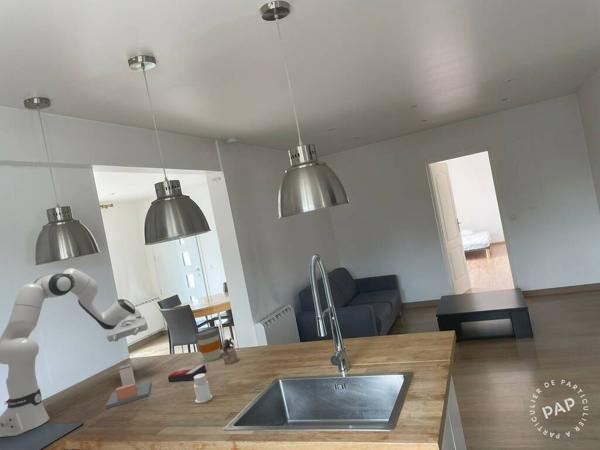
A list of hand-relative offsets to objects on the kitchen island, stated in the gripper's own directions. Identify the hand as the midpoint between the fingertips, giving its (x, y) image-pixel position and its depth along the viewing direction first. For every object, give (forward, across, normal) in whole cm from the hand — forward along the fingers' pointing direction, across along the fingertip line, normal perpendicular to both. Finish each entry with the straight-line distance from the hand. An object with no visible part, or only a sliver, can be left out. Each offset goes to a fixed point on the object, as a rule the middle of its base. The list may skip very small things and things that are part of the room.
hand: (125, 337), depth 223 cm
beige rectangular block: (+19, -1, +19) cm, 27 cm away
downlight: (+53, +36, +17) cm, 66 cm away
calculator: (+17, +25, +24) cm, 39 cm away
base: (+22, -1, +20) cm, 30 cm away
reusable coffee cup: (-5, +36, +29) cm, 47 cm away
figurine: (+11, +47, +27) cm, 55 cm away
